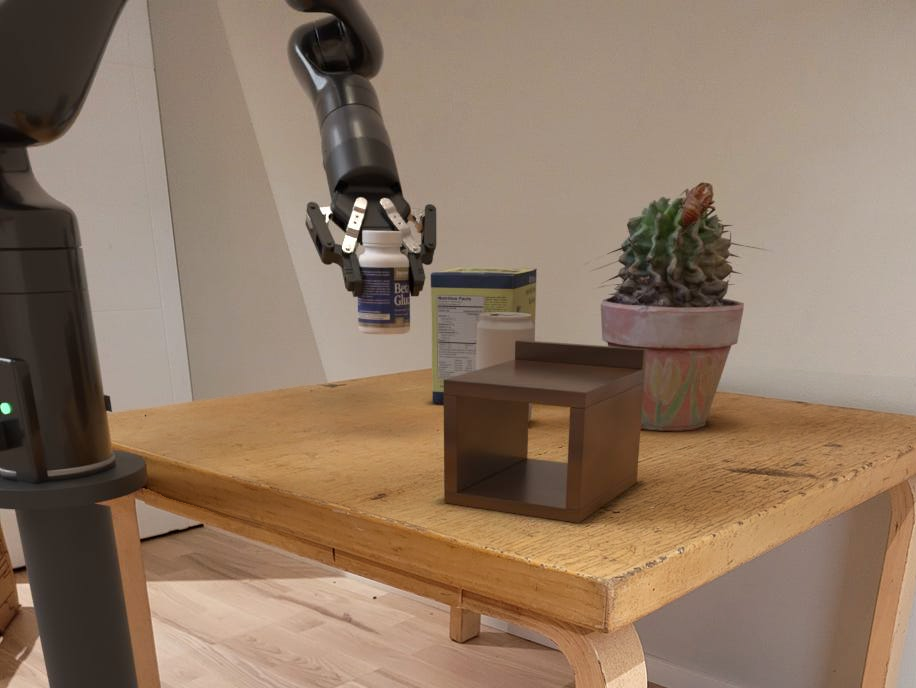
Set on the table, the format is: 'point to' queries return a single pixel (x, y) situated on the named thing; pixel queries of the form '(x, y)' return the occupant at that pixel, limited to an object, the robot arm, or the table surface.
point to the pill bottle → (384, 284)
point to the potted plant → (675, 307)
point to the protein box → (471, 313)
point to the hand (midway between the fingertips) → (387, 290)
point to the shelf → (506, 430)
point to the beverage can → (501, 338)
